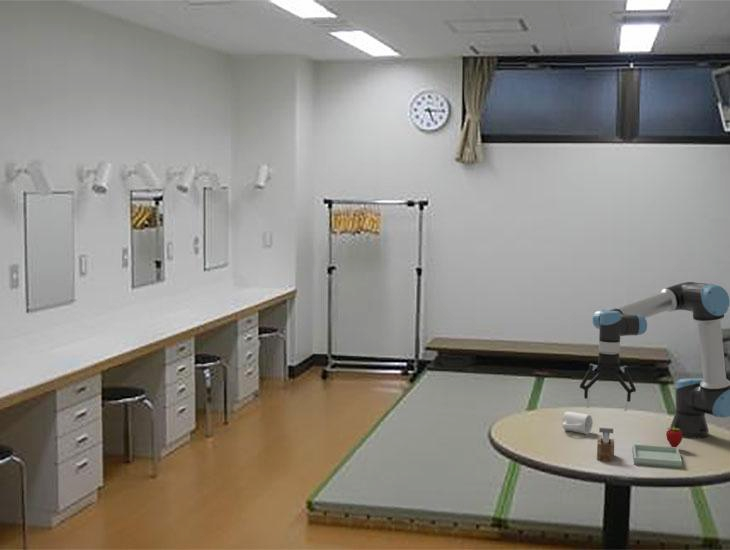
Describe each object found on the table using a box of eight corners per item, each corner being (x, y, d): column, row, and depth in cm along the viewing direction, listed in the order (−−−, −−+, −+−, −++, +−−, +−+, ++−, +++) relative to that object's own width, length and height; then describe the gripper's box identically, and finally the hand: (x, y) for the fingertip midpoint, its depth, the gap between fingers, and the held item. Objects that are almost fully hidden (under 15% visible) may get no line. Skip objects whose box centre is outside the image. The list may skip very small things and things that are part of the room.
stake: (612, 456, 354) (613, 428, 353) (612, 458, 352) (613, 429, 351) (598, 455, 355) (599, 427, 354) (598, 457, 353) (599, 428, 352)
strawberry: (670, 451, 363) (671, 426, 362) (662, 446, 370) (663, 421, 369) (685, 451, 363) (686, 426, 362) (677, 446, 371) (678, 421, 370)
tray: (677, 453, 359) (677, 447, 359) (681, 468, 340) (682, 461, 340) (632, 450, 363) (632, 444, 363) (634, 464, 344) (634, 457, 344)
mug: (570, 428, 397) (571, 409, 396) (592, 432, 391) (593, 413, 390) (557, 433, 388) (557, 414, 387) (579, 437, 381) (579, 418, 381)
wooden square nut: (597, 453, 358) (597, 437, 358) (613, 454, 357) (613, 439, 357) (596, 460, 348) (597, 444, 348) (613, 462, 347) (614, 446, 346)
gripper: (643, 352, 351) (641, 408, 352) (575, 348, 357) (572, 404, 358) (644, 356, 343) (641, 413, 345) (574, 352, 349) (572, 408, 351)
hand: (606, 408), depth 352 cm, fingers open, 13 cm apart
